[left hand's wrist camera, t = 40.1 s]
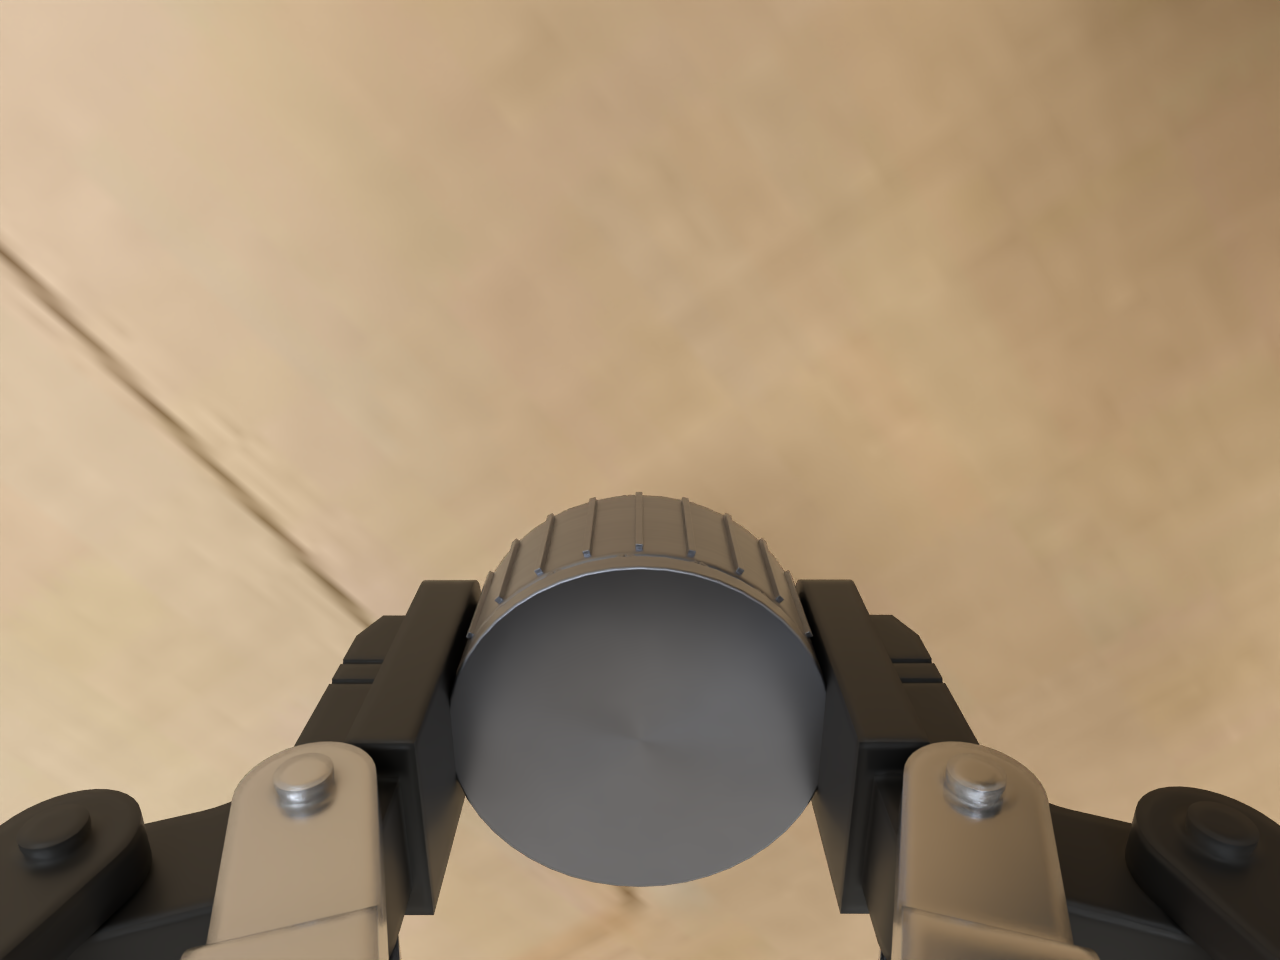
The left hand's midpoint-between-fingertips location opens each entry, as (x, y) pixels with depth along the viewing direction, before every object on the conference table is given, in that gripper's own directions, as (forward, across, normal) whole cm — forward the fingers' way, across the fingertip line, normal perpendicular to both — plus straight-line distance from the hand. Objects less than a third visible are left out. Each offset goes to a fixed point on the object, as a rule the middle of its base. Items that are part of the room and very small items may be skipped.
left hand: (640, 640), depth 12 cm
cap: (-2, 0, 0) cm, 2 cm away
